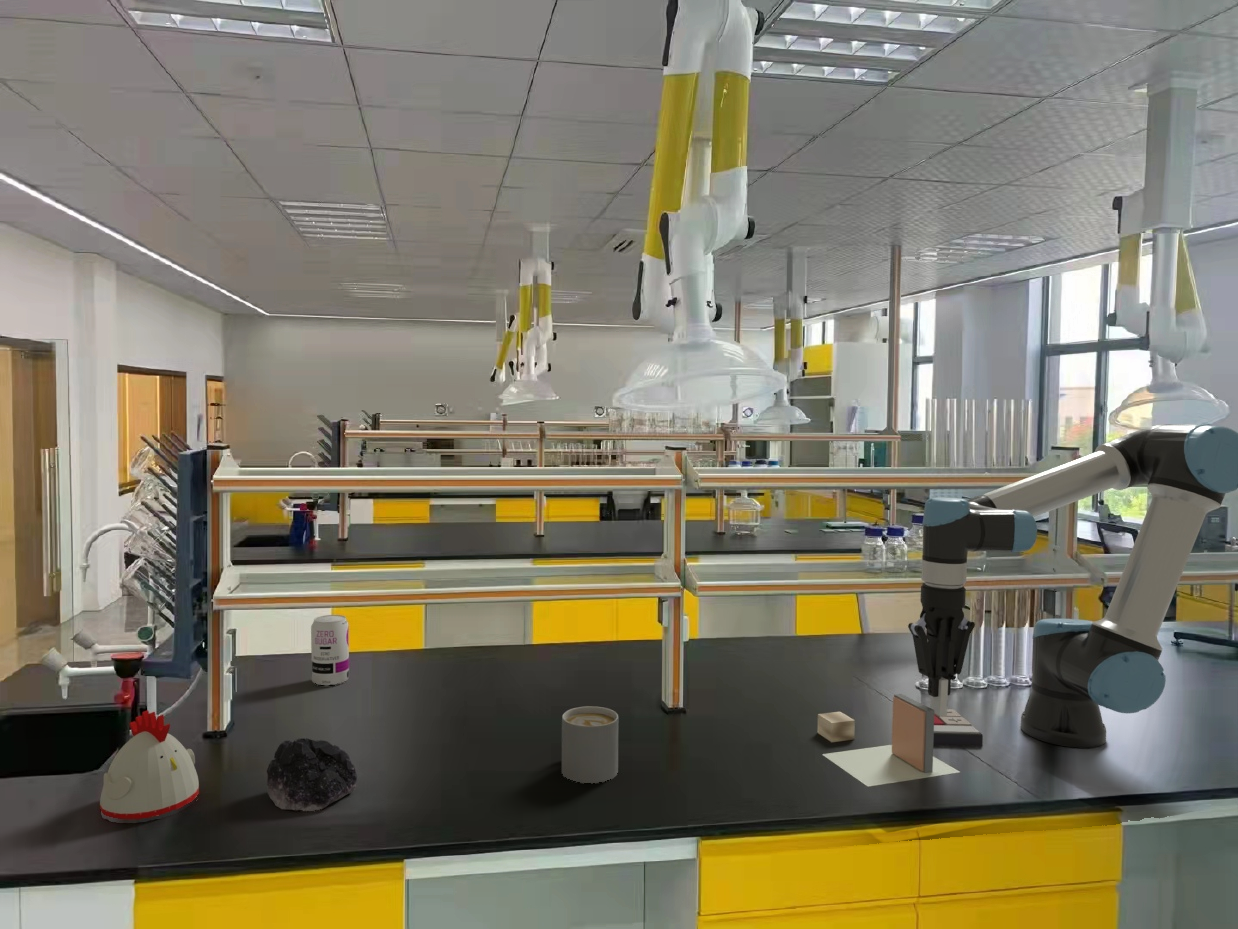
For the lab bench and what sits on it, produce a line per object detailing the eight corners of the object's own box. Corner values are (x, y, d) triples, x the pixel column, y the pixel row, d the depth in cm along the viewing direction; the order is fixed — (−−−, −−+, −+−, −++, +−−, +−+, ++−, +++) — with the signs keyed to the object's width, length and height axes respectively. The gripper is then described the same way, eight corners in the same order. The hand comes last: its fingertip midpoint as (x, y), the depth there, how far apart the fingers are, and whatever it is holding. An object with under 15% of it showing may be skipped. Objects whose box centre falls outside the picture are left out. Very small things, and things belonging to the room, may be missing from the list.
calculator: (955, 707, 173) (983, 730, 158) (954, 728, 173) (983, 753, 158) (901, 706, 174) (924, 729, 159) (900, 727, 174) (924, 752, 159)
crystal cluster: (370, 800, 138) (372, 739, 139) (289, 821, 128) (292, 754, 129) (332, 781, 147) (334, 724, 148) (254, 799, 138) (256, 738, 138)
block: (839, 736, 166) (839, 711, 166) (854, 745, 161) (854, 720, 161) (817, 739, 164) (817, 714, 164) (831, 749, 159) (832, 723, 159)
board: (908, 748, 160) (908, 742, 160) (960, 778, 146) (960, 772, 146) (821, 760, 154) (821, 754, 154) (867, 793, 140) (867, 786, 140)
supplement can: (344, 674, 202) (343, 612, 201) (352, 684, 195) (352, 620, 194) (308, 679, 198) (308, 616, 197) (316, 689, 191) (315, 624, 190)
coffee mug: (621, 782, 144) (621, 725, 143) (563, 785, 143) (563, 727, 142) (612, 751, 157) (612, 699, 156) (559, 753, 156) (559, 700, 155)
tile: (899, 752, 155) (901, 693, 154) (932, 772, 146) (934, 710, 146) (890, 753, 154) (892, 694, 154) (922, 773, 146) (924, 711, 145)
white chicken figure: (141, 831, 126) (139, 733, 125) (79, 814, 131) (76, 719, 130) (218, 793, 138) (216, 704, 138) (159, 778, 144) (157, 692, 143)
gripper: (958, 578, 156) (953, 703, 157) (899, 581, 152) (894, 709, 153) (988, 586, 149) (982, 717, 150) (927, 590, 145) (922, 724, 146)
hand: (938, 713), depth 152 cm, fingers closed
